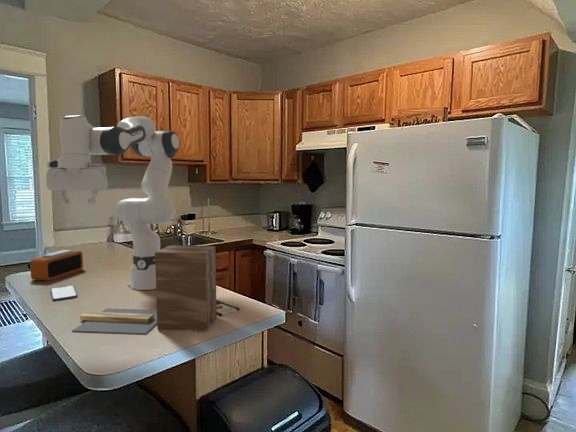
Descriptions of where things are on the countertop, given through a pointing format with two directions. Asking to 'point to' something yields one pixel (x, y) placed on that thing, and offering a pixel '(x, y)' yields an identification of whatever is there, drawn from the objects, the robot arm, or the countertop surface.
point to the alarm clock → (56, 265)
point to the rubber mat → (119, 324)
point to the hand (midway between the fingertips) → (78, 203)
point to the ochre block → (117, 317)
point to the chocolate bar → (225, 308)
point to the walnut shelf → (186, 287)
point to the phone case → (63, 293)
